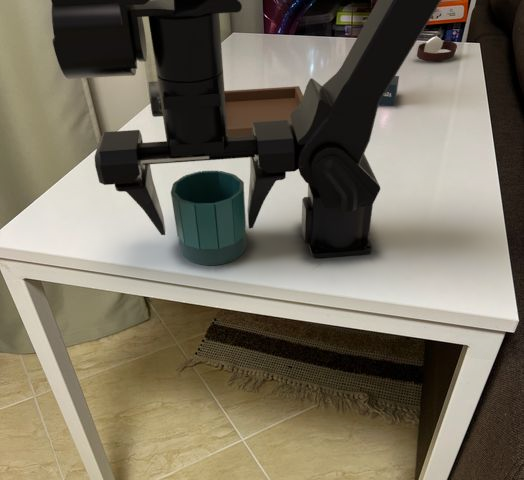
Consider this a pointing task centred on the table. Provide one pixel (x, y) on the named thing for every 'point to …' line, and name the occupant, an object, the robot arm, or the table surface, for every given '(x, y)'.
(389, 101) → the watch
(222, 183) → the teal faceted cup
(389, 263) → the table surface
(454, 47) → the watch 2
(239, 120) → the tray
